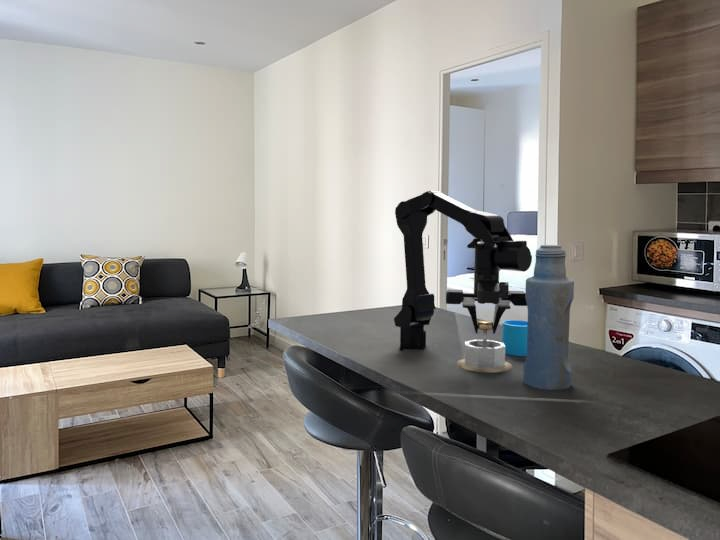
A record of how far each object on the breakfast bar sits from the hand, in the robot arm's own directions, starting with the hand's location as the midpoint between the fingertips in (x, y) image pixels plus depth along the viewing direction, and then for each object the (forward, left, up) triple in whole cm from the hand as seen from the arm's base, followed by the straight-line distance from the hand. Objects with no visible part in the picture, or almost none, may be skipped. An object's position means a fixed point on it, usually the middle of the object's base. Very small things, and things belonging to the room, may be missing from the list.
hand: (485, 333), depth 134 cm
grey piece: (0, +2, -8) cm, 8 cm away
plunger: (0, 0, -5) cm, 5 cm away
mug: (+9, +16, -8) cm, 20 cm away
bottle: (+12, -13, -8) cm, 20 cm away
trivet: (0, 0, -8) cm, 8 cm away
